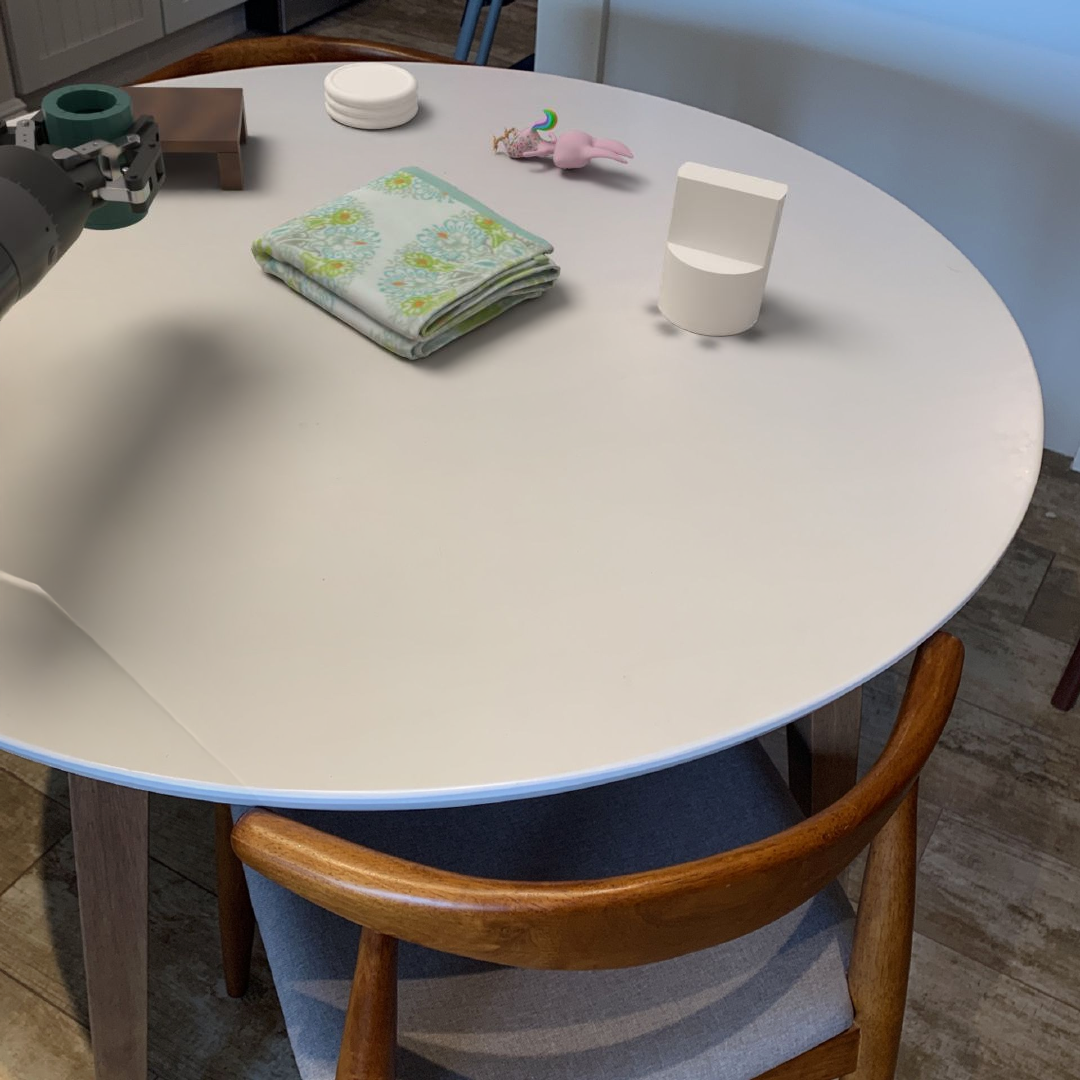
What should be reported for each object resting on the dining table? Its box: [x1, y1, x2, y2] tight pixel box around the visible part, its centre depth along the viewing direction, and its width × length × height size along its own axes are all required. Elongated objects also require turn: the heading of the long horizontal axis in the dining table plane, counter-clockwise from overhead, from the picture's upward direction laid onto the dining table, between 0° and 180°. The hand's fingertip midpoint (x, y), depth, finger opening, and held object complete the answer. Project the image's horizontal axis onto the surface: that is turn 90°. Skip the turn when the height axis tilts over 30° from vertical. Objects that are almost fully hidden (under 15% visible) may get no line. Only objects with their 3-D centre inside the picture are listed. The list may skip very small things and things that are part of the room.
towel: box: [250, 165, 561, 361], centre depth 102 cm, size 18×21×5 cm
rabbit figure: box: [492, 108, 634, 170], centre depth 120 cm, size 6×6×15 cm
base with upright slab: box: [657, 160, 789, 337], centre depth 100 cm, size 9×9×12 cm
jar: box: [41, 83, 150, 231], centre depth 87 cm, size 6×6×8 cm
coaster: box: [323, 62, 419, 130], centre depth 127 cm, size 10×10×4 cm
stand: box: [118, 86, 249, 191], centre depth 115 cm, size 12×12×5 cm
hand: (106, 121), depth 87 cm, fingers closed on jar, 6 cm apart
